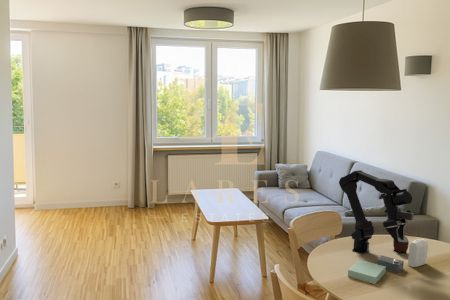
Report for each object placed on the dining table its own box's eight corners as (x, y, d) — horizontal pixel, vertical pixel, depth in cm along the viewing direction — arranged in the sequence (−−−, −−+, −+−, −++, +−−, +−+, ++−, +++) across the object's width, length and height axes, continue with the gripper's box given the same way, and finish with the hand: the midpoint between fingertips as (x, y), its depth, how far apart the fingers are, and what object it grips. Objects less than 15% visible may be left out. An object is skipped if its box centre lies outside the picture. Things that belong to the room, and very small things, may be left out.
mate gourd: (406, 255, 216) (408, 226, 213) (389, 252, 220) (391, 223, 218) (408, 251, 222) (411, 222, 220) (392, 247, 226) (394, 219, 224)
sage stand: (347, 276, 192) (348, 269, 191) (358, 265, 203) (359, 259, 202) (375, 284, 185) (375, 277, 184) (385, 272, 196) (385, 266, 195)
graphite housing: (376, 267, 202) (377, 257, 202) (381, 263, 207) (382, 253, 206) (398, 273, 196) (399, 263, 195) (403, 269, 201) (403, 259, 200)
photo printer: (419, 260, 210) (421, 236, 208) (427, 263, 207) (430, 238, 205) (406, 265, 205) (408, 240, 203) (414, 268, 201) (417, 242, 199)
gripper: (403, 204, 191) (413, 240, 188) (414, 203, 206) (423, 236, 203) (378, 209, 197) (387, 244, 194) (390, 207, 212) (398, 239, 209)
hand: (399, 241), depth 200 cm, fingers open, 9 cm apart
